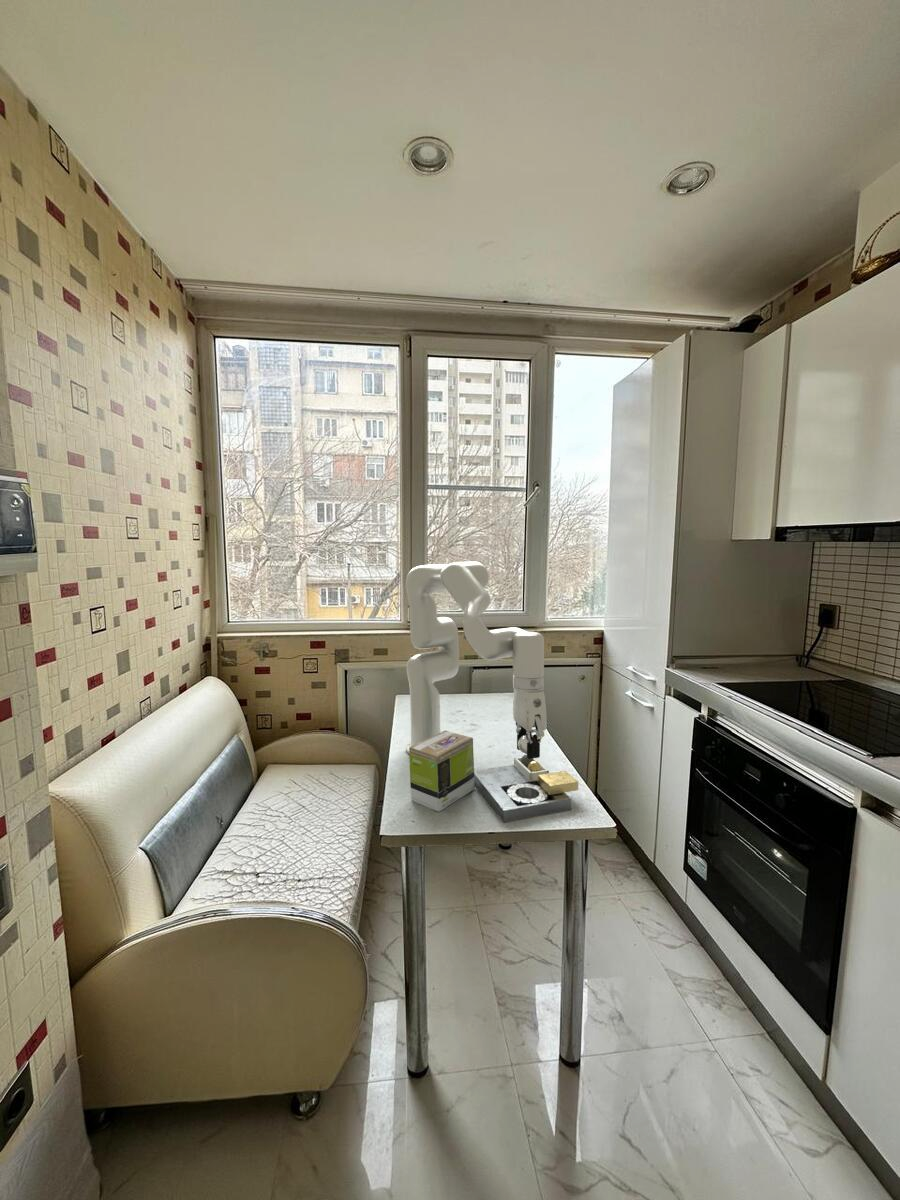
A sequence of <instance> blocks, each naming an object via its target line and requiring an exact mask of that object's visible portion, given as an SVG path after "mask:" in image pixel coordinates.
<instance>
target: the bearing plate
mask: <svg viewBox="0 0 900 1200" xmlns="http://www.w3.org/2000/svg"><path fill="white" fill-rule="evenodd" d="M474 786H476V788H477V790H478V791H479V792H480V793H481V794H482V796H483V798H485V800H486V801H487V803H488V804H489V805H490V807H491V808H492V809H493V811H494V812H495V813H496V814H497V816H498V817H499V818H500V820H501V821H502V822H503V823H509V822H515V821H521V820H525V819H531V818H537V817H542V816H548V815H553V814H559V813H564V812H569V811H572V798H571V797H570V796H569V795H568V794H566V792H564V793H558V794H553V795H549V794H548V793H547V792H546V791H545V790H544V789H543V788H542V787H541V786H540V785H539V784H538V780H536V781H529V780H528V779H527V778H526V777H525V776H524V775H523V774H522V773H521V772H520V771H519V770H518V769H517V768H516V767H515V766H514V764H510V765H504V766H496V767H489V768H481V769H477V770H475V769H474Z"/></svg>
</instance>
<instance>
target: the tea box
mask: <svg viewBox="0 0 900 1200" xmlns="http://www.w3.org/2000/svg"><path fill="white" fill-rule="evenodd" d="M408 755H409V774H410V775H409V779H410V782H409V784H410V800H411V801H412V802H414V803H417V804H419V805H421V806H424V807H426V808H428V809H431V810H433V811H435V812H441V811H443V810H444V809H446V808H447V807H449V806H450V805H452V804H454V803H455V802H456V801H458V800H460V799H462V798H463V797H464V796H466V795H467V794H469V793H471V792H472V791H474V790H475V784H474V771H475V759H474V757H475V756H474V755H475V754H474V738H473V737H471V736H468V735H463V734H459V733H456V732H452V731H449V730H443V731H440V733H439V734H437V735H435V736H432V737H430V738H428V739H426V740H424V741H422V742H420V743H417V744H415V745H414V746H411V747H409V753H408Z"/></svg>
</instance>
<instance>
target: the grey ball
mask: <svg viewBox="0 0 900 1200" xmlns="http://www.w3.org/2000/svg"><path fill="white" fill-rule="evenodd" d="M521 757H522V759H521V763H522V764H523V765H524V766H525V767H526V768H528V765H529V763H530V762H532V761H534V760H533V759H528V758H527V755H526V754H523V755H522V756H521Z"/></svg>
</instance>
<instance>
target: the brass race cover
mask: <svg viewBox="0 0 900 1200" xmlns="http://www.w3.org/2000/svg"><path fill="white" fill-rule="evenodd" d="M538 784H539V785H540V786H541V787H542V788H543V789H544V790H545V791H546V792H547V793H548V794H549V795H553V794H558V793H569V792H575V791H578V790H579V781H578V780H577V779H576V778H575V777H574V776H573V775H571V773H569V772H568V771H566V770H562V771H555V772H549V773H548V774H541V775H538Z"/></svg>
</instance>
